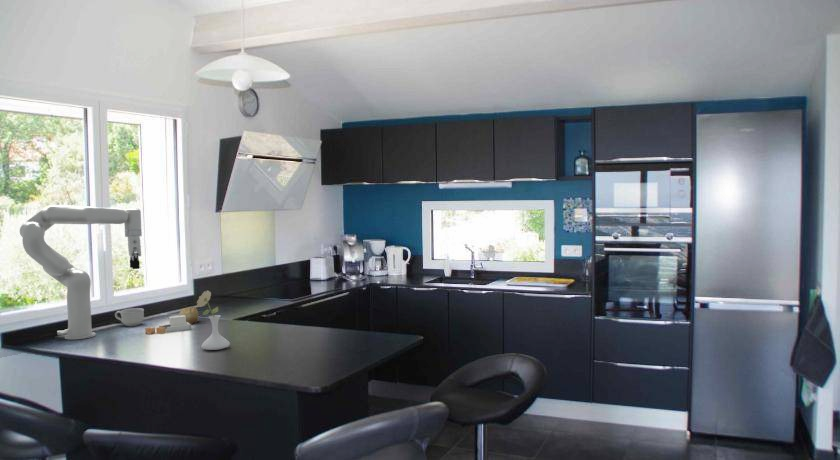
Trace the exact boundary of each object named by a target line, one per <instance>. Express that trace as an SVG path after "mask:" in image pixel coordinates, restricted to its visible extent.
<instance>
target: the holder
mask: <svg viewBox="0 0 840 460" xmlns="http://www.w3.org/2000/svg"><path fill="white" fill-rule="evenodd" d="M165 325H170V323H167V324H165ZM191 330H192V324H190V323H188V322H186V325H181V326H172V327H167V329H166V333H176V332H184V331H191Z"/></svg>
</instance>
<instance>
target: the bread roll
mask: <svg viewBox="0 0 840 460" xmlns="http://www.w3.org/2000/svg"><path fill="white" fill-rule="evenodd" d="M199 314H200V313H199V310H198V309H197V308H196V307H190V306H189V307H185V308H181V310H180V311H179V313H178V316H181V315H185V316H186V322H188V323H190V324H191V325H193V324H195V323H196V322H197V321H198V318H199Z"/></svg>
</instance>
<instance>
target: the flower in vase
mask: <svg viewBox="0 0 840 460" xmlns="http://www.w3.org/2000/svg"><path fill="white" fill-rule="evenodd" d="M211 296H212V292H211V291H210V290H205V291H203V292H202V293H201V295H200V296H198V299H197V301H196V306H197V307H199V308H202V307H204V306H205V305H207V306H208V308H209V309H206V310H204V311H203V312H202V314H201V315H203V316H206V315H208V314H209V313H211V314H212V315H209V316H208V320H209V319H210V323H211V328H212V331H211V334H210V336H209V337H207V338H206V339H205V340H204V341H203V343H202V344H201V346H200V347H201V348H202V349H203V350H207V351H218V350H223V349H226V348H228V347H229V346H230V341H229V340H228V339H226V338H225V337H224V336H222V335H221V333H220V332H219V320H220V318H221V315H220V314H216V313H218V312H219V306H216V307H215V308H213V309H211V306H210V304H209V302H210V300H211ZM214 314H215V315H214Z"/></svg>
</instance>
